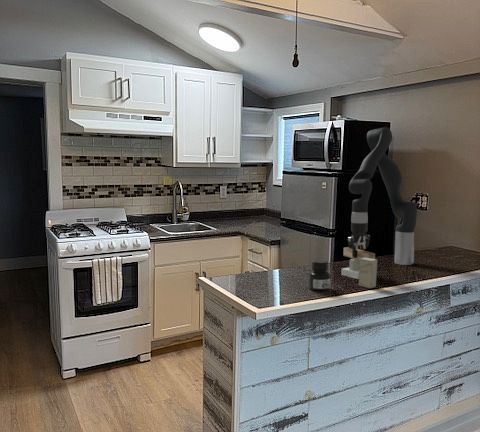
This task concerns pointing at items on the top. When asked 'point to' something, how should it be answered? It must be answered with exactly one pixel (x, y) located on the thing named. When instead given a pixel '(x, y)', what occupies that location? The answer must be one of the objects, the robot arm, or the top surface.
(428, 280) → the top surface
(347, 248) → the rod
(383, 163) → the robot arm
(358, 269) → the fulcrum
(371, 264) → the skincare box
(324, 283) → the ink bottle
